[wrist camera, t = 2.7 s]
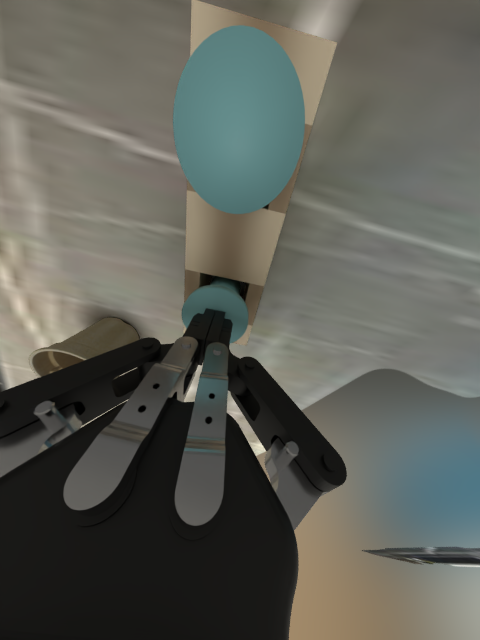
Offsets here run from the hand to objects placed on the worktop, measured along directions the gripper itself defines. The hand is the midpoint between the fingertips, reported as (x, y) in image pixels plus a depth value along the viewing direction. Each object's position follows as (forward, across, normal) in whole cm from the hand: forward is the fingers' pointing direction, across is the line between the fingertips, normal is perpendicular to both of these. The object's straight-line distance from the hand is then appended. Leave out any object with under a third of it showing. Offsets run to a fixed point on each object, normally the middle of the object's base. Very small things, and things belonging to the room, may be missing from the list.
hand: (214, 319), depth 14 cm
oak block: (+9, 0, -5) cm, 11 cm away
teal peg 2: (+7, 0, 0) cm, 7 cm away
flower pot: (+10, +15, +13) cm, 22 cm away
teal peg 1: (+5, 0, -10) cm, 11 cm away
